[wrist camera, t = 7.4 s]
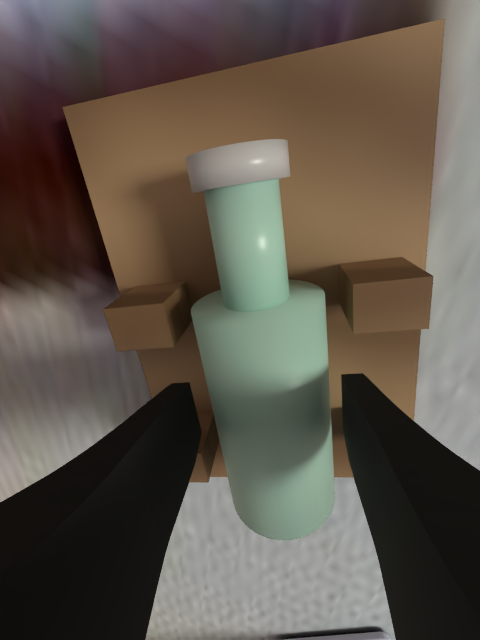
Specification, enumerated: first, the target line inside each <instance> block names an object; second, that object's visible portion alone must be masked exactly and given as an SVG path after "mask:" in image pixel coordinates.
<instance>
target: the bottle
mask: <svg viewBox="0 0 480 640" xmlns="http://www.w3.org/2000/svg"><path fill="white" fill-rule="evenodd" d="M185 160H186V165H187V170H188V175H189V181H190V186H191V191H192V193H195V192H204V198H205V204H206V209H207V215H208V220H209V226H210V231H211V237H212V242H213V248H214V253H215V259H216V264H217V270H218V276H219V281H220V287H221V289H220V290H217V291H215V292H212V293H210V294H208V295H206V296H204V297H203V298H201V299H200V300H198V301H197V302H196V303H195V304H194V305H193V306H192V308H191V316H192V320H193V325H194V329H195V334H196V338H197V342H198V347H199V351H200V356H201V360H202V365H203V369H204V373H205V378H206V382H207V387H208V391H209V396H210V400H211V405H212V409H213V413H214V418H215V422H216V427H217V431H218V436H219V440H220V445H221V449H222V453H223V458H224V462H225V467H226V471H227V476H228V480H229V485H230V489H231V493H232V498H233V502H234V506H235V509H236V511H237V514H238V515H239V517H240V519H241V520H242V521H243V522H244V523H245V525H247V526H248V527H249V528H250V529H251V530H253V531H254V532H256V533H258V534H260V535H262V536H264V537H267V538H270V539H276V540H293V539H298V538H301V537H304V536H307V535H309V534H311V533H312V532H314V531H316V530H317V529H318V528H320V527H321V526H322V525H323V524H324V523H325V521H326V520H327V519H328V517H329V515H330V513H331V511H332V509H333V506H334V500H335V485H334V465H333V445H332V425H331V405H330V385H329V365H328V344H327V324H326V304H325V292H324V290H323V289H322V288H321V287H319V286H317V285H315V284H313V283H310V282H306V281H300V280H289V279H288V271H287V261H286V250H285V239H284V229H283V218H282V208H281V197H280V187H279V179H281V178H287V177H290V165H289V153H288V141H287V140H285V139H267V140H257V141H249V142H242V143H236V144H230V145H225V146H220V147H216V148H211V149H207V150H203V151H200V152H197V153H194V154H191V155H189V156H187V157H186V158H185Z"/></svg>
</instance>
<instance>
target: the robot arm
mask: <svg viewBox="0 0 480 640" xmlns="http://www.w3.org/2000/svg"><path fill="white" fill-rule="evenodd" d="M341 384H342V418H343V433H344V438H345V443H346V449H347V454H348V459H349V463H350V466H351V470H352V473H353V476H354V480H355V483H356V486H357V489H358V493H359V496H360V499H361V502H362V506H363V509H364V512H365V515H366V518H367V522H368V525H369V528H370V531H371V535H372V538H373V541H374V545H375V548H376V552H377V556H378V560H379V563H380V568H381V572H382V577H383V582H384V586H385V591H386V595H387V600H388V604H389V609H390V614H391V618H392V623H393V628H394V632H395V637H396V640H480V471H479V470H478V469H476V468H475V467H473V466H472V465H470V464H469V463H468V462H466V461H465V460H463V459H462V458H460V457H459V456H457V455H456V454H455V453H453V452H452V451H451V450H449V449H448V448H446V447H445V446H444V445H442V444H441V443H440V442H439V441H437V440H436V439H435V438H434V437H432V436H431V435H430V434H429V433H427V432H426V431H425V430H424V429H423V428H421V427H420V426H419V425H418V424H417V423H415V422H414V421H413V420H412V419H411V418H410V417H409V416H408V415H406V414H405V413H404V412H403V411H402V410H401V409H400V408H399V407H397V406H396V405H395V404H394V403H393V402H392V401H391V400H390V399H389V398H388V397H387V396H386V395H385V394H384V393H383V392H382V391H381V390H380V389H379V388H378V387H377V386H376V385H375V384H374V383H373V382H372V381H371V380H370V379H369V378H368V377H367V376H365V375H364V374H363V373H358V374H341ZM201 433H202V431H201V427H200V423H199V419H198V415H197V411H196V406H195V402H194V398H193V394H192V390H191V386H190V382H185V383H171V384H170V385H169V386H167V387H166V388H165V389H163V390H162V391H161V392H159V393H158V394H157V395H156V396H155V397H153V398H152V399H151V400H150V401H149V402H147V403H146V404H145V405H144V406H143V407H141V408H140V409H139V410H138V411H136V412H135V413H134V414H133V415H132V416H130V417H129V418H128V419H127V420H125V421H124V422H123V423H122V424H120V425H119V426H118V427H116V428H115V429H114V430H113V431H111V432H110V433H109V434H107V435H106V436H105V437H103V438H102V439H101V440H99V441H98V442H97V443H95V444H94V445H93V446H91V447H90V448H89V449H87V450H86V451H84V452H83V453H81V454H80V455H78V456H77V457H76V458H74V459H73V460H71V461H69V462H68V463H66V464H65V465H63V466H62V467H60V468H59V469H57V470H56V471H54V472H52V473H51V474H49V475H48V476H46V477H44V478H42V479H41V480H39V481H37V482H35V483H34V484H32V485H30V486H29V487H27V488H25V489H23V490H22V491H20V492H18V493H16V494H15V495H13V496H11V497H9V498H8V499H6V500H4V501H2V502H0V640H145V638H146V633H147V629H148V625H149V620H150V616H151V611H152V607H153V602H154V598H155V594H156V589H157V585H158V581H159V577H160V573H161V569H162V565H163V561H164V557H165V553H166V549H167V546H168V543H169V540H170V536H171V533H172V530H173V527H174V524H175V521H176V519H177V516H178V513H179V510H180V507H181V504H182V501H183V498H184V495H185V492H186V490H187V487H188V484H189V481H190V478H191V475H192V472H193V469H194V466H195V463H196V458H197V454H198V449H199V444H200V439H201ZM281 640H392V639H391V637H390V636H389V635H388V634H387V633H385V632H369V633H356V634H344V635H331V636H319V637H306V638H293V639H281Z"/></svg>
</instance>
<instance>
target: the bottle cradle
mask: <svg viewBox="0 0 480 640" xmlns="http://www.w3.org/2000/svg"><path fill="white" fill-rule="evenodd" d="M444 24H445V19H441V20H437V21H432V22H428V23H424V24H420V25H415V26H411V27H407V28H402V29H398V30H394V31H389V32H385V33H381V34H376V35H372V36H368V37H363V38H359V39H355V40H351V41H346V42H342V43H338V44H333V45H329V46H325V47H320V48H316V49H312V50H307V51H303V52H299V53H294V54H290V55H286V56H282V57H277V58H273V59H269V60H264V61H260V62H256V63H251V64H247V65H243V66H238V67H234V68H230V69H225V70H221V71H217V72H213V73H208V74H204V75H200V76H195V77H191V78H187V79H182V80H178V81H174V82H169V83H165V84H161V85H156V86H152V87H148V88H144V89H139V90H135V91H131V92H126V93H122V94H118V95H113V96H109V97H105V98H100V99H96V100H92V101H87V102H83V103H79V104H75V105H70V106H66V107H63V110H64V113H65V117H66V120H67V123H68V127H69V130H70V133H71V136H72V140H73V143H74V146H75V149H76V153H77V156H78V159H79V162H80V166H81V169H82V172H83V175H84V179H85V182H86V185H87V189H88V192H89V195H90V198H91V202H92V205H93V208H94V211H95V215H96V218H97V221H98V224H99V228H100V231H101V234H102V237H103V241H104V244H105V247H106V250H107V254H108V257H109V260H110V264H111V267H112V270H113V273H114V277H115V280H116V283H117V286H118V290H119V293H120V296H121V297H120V298H119V299H117V300H116V301H114V302H113V303H111V304H110V305H108V306H107V307H106V308H104V309H103V311H104V314H105V317H106V320H107V323H108V326H109V329H110V332H111V335H112V338H113V341H114V344H115V347H116V350H117V351H128V350H137V352H138V355H139V358H140V361H141V365H142V368H143V371H144V374H145V378H146V381H147V384H148V387H149V391H150V394H151V397H152V398H153V397H155V396H156V395H157V394H158V393H159V392H161V391H162V390H163V389H165V388H166V387H167V386H169V385H170V384H171V383H185V382H190V386H191V390H192V394H193V398H194V402H195V406H196V411H197V415H198V419H199V423H200V427H201V431H202V433H201V439H200V444H199V449H198V454H197V458H196V463H195V466H194V469H193V472H192V475H191V478H190V481H189V482H209V478H210V477H228V476H227V471H226V467H225V462H224V458H223V453H222V449H221V445H220V440H219V436H218V431H217V427H216V422H215V418H214V413H213V409H212V405H211V400H210V396H209V391H208V387H207V382H206V378H205V373H204V369H203V365H202V360H201V356H200V351H199V347H198V342H197V338H196V334H195V329H194V325H193V320H192V316H191V308H192V306H193V305H194V304H195V303H196V302H197V301H198V300H200V299H201V298H203V297H204V296H206V295H208V294H210V293H212V292H215V291H217V290H220V289H221V287H220V281H219V276H218V270H217V264H216V259H215V253H214V248H213V242H212V237H211V231H210V226H209V220H208V215H207V209H206V204H205V198H204V192H195V193H192V191H191V186H190V181H189V175H188V170H187V165H186V160H185V158H186V157H187V156H189V155H191V154H194V153H197V152H200V151H203V150H207V149H211V148H216V147H220V146H225V145H230V144H236V143H242V142H249V141H257V140H267V139H285V140H287V141H288V153H289V165H290V177H287V178H281V179H279V187H280V197H281V208H282V218H283V229H284V239H285V250H286V261H287V271H288V279H289V280H300V281H306V282H310V283H313V284H315V285H317V286H319V287H321V288H322V289H323V290H324V292H325V304H326V324H327V344H328V365H329V385H330V405H331V425H332V445H333V465H334V477H354V476H353V473H352V470H351V466H350V463H349V459H348V454H347V449H346V443H345V438H344V433H343V418H342V384H341V374H358V373H363V374H364V375H365V376H367V377H368V378H369V379H370V380H371V381H372V382H373V383H374V384H375V385H376V386H377V387H378V388H379V389H380V390H381V391H382V392H383V393H384V394H385V395H386V396H387V397H388V398H389V399H390V400H391V401H392V402H393V403H394V404H395V405H396V406H397V407H399V408H400V409H401V410H402V411H403V412H404V413H405V414H406V415H408V416H409V417H410V418H411V419H412V420H413V421H414V410H415V397H416V385H417V372H418V359H419V346H420V333H421V329H429V320H430V309H431V297H432V286H433V276H432V275H431V274H429V273H427V272H426V271H425V269H426V256H427V243H428V230H429V217H430V204H431V191H432V178H433V166H434V153H435V140H436V127H437V114H438V101H439V88H440V75H441V63H442V50H443V37H444Z"/></svg>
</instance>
